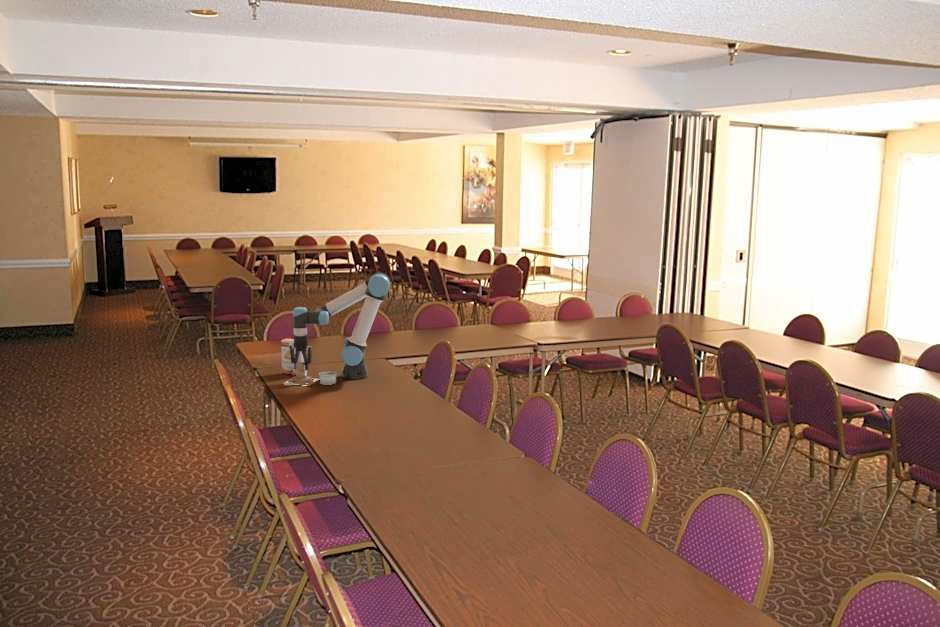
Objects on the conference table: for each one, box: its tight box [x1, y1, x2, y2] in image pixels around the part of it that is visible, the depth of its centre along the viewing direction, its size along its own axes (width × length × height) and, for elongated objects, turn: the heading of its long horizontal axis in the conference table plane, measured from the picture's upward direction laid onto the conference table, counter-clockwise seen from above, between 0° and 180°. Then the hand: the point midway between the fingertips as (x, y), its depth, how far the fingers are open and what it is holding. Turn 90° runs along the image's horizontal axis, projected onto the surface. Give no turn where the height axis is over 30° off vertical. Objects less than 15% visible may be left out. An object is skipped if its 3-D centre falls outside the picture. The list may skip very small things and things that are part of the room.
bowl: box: [318, 370, 338, 386], centre depth 436 cm, size 10×10×6 cm
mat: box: [282, 378, 320, 387], centre depth 440 cm, size 16×16×1 cm
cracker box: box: [280, 338, 304, 376], centre depth 456 cm, size 14×6×21 cm, turn 68°
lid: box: [291, 361, 313, 382], centre depth 439 cm, size 11×11×10 cm
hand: (301, 375), depth 439 cm, fingers closed on lid, 4 cm apart
